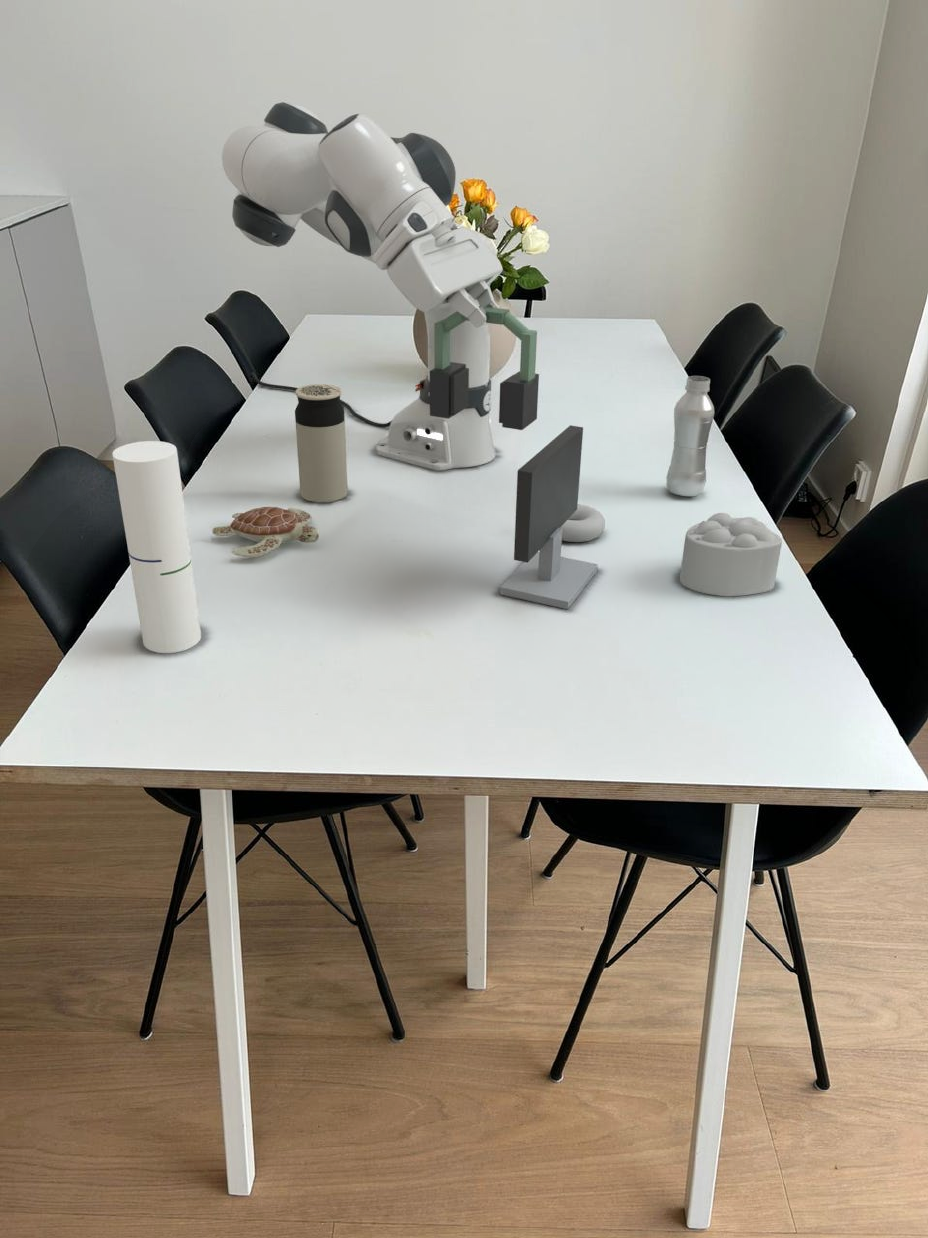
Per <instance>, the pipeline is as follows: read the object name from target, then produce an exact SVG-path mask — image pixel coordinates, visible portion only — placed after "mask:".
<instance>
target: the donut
mask: <svg viewBox="0 0 928 1238" xmlns="http://www.w3.org/2000/svg"><path fill="white" fill-rule="evenodd" d="M605 527H606V519H605V518H604V516H603V514H602V513H601V512H600V510H597V509H596V508H594V507H591V506H589V505H585V504H580V503H578V505H577V510H576V511H575V512H574V513H573V514H572V515H571V517H570V518H569V519H568V520H567V521H566V522H565V523H564V524H563V525H562V526H561V527H560V528H562V542H569V543H584V542H589V541H592V540H594V539H597V538H598V537H599V536H600V535H602V533H604V530H605Z"/></svg>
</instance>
